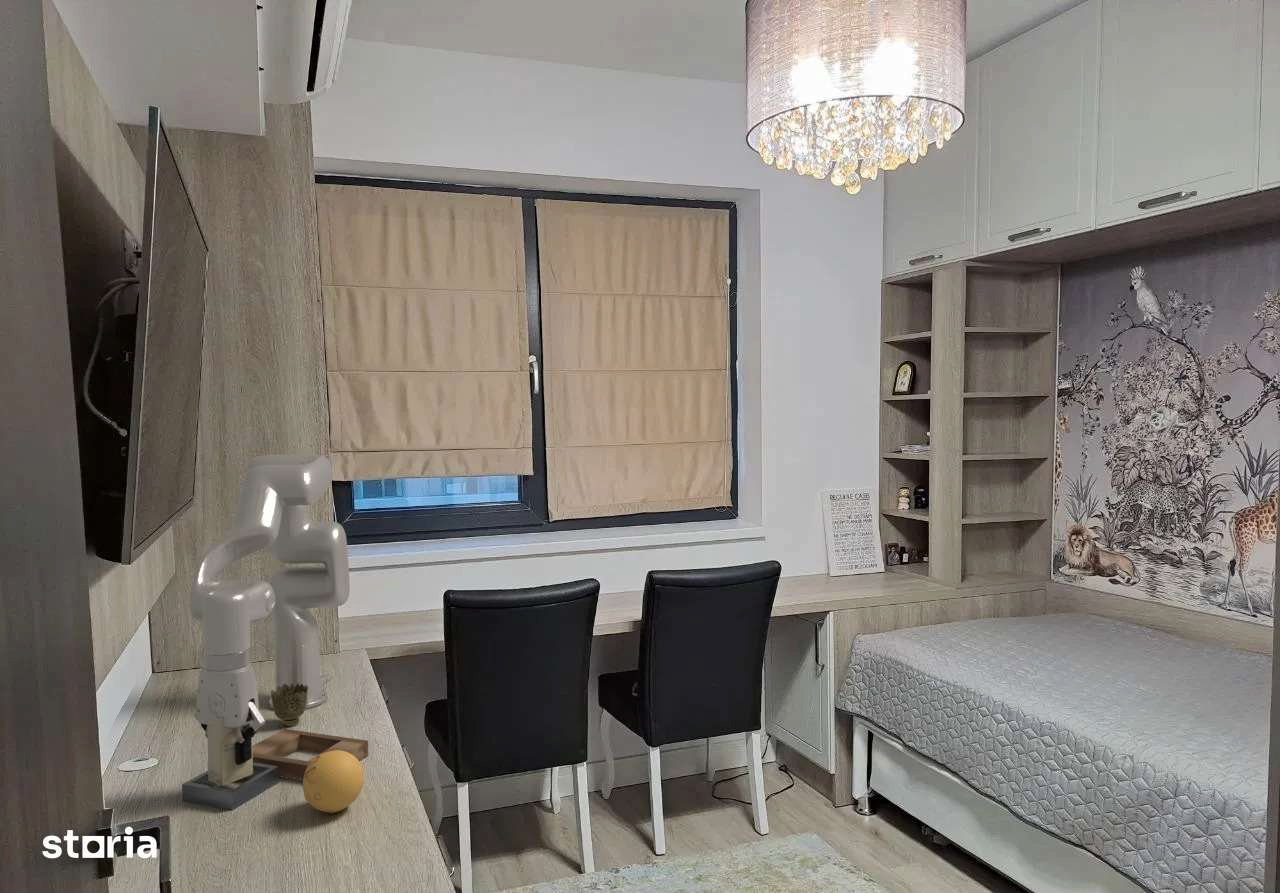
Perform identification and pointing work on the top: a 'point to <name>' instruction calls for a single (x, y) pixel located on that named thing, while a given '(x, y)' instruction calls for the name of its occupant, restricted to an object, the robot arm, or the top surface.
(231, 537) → the robot arm
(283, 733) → the wooden tray frame
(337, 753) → the stress ball
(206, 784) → the frame
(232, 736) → the skincare box
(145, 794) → the top surface
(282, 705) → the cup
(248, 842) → the top surface
